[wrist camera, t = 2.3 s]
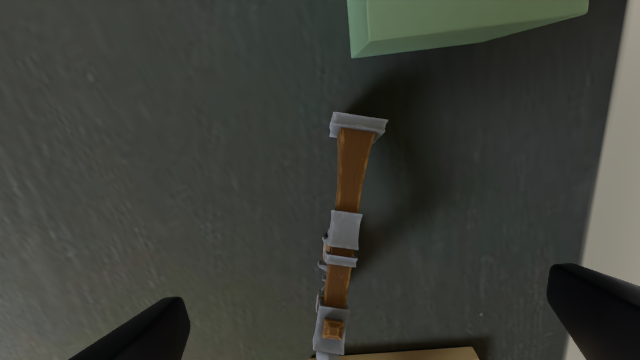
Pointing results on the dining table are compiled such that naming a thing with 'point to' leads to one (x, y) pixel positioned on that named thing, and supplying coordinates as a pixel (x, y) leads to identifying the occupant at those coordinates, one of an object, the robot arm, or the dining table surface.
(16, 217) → the dining table surface
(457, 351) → the birch pad
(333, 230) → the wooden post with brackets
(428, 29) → the sage block
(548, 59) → the dining table surface
